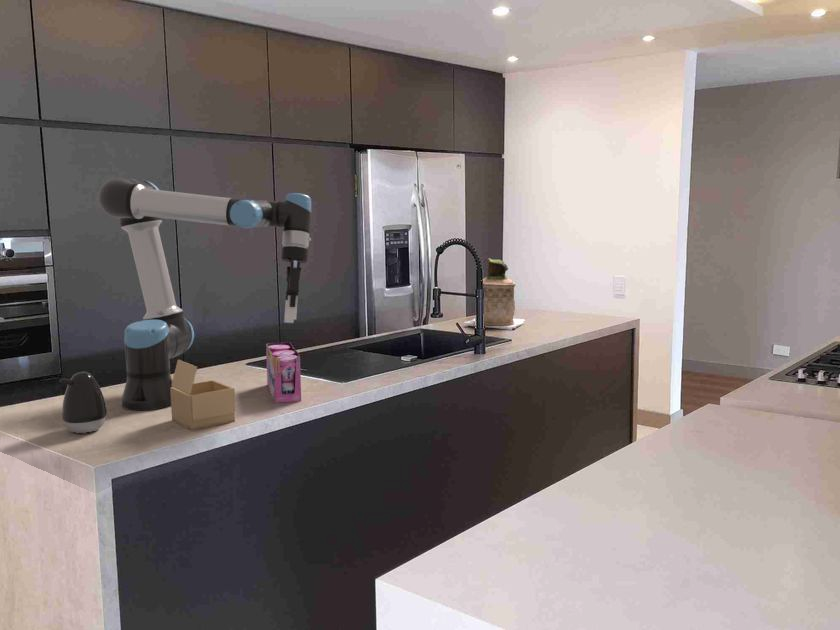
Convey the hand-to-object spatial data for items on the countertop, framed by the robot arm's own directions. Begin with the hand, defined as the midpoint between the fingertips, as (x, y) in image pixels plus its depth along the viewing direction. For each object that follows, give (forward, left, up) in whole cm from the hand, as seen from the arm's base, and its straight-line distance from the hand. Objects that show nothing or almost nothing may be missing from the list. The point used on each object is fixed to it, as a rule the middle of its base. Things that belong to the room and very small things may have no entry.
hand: (289, 321), depth 204 cm
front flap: (0, -32, -11) cm, 34 cm away
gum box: (-11, +4, -24) cm, 27 cm away
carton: (0, -27, -24) cm, 36 cm away
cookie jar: (-53, +145, -24) cm, 156 cm away
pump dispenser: (-12, -53, -24) cm, 60 cm away
